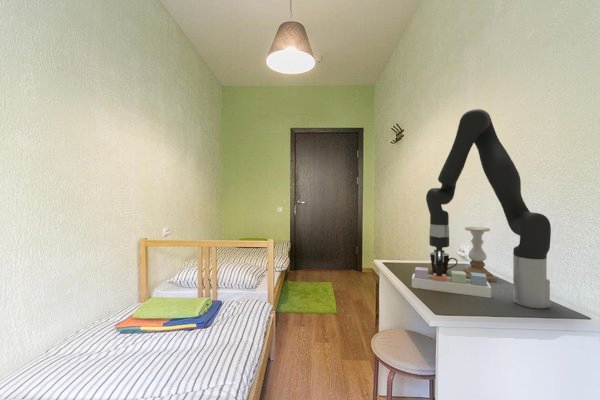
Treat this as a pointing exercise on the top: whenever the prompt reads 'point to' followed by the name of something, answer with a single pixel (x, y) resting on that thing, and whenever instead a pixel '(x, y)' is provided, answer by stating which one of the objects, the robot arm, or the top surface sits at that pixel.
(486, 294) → the frame
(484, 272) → the candle holder
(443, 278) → the terracotta key
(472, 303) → the top surface
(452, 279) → the sage green key
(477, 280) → the light blue block
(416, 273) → the lavender block
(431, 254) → the coffee mug
